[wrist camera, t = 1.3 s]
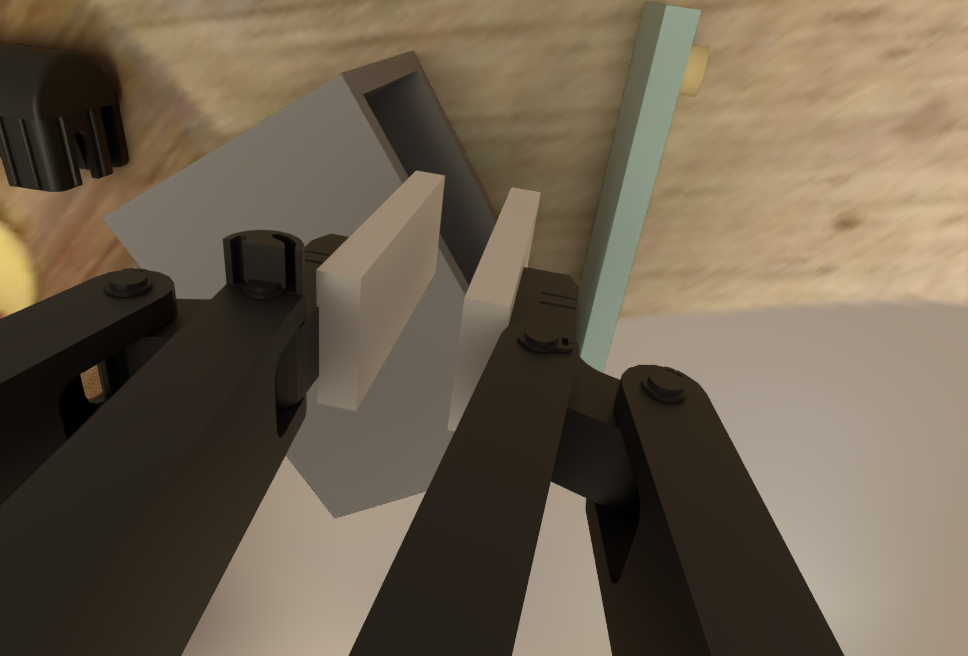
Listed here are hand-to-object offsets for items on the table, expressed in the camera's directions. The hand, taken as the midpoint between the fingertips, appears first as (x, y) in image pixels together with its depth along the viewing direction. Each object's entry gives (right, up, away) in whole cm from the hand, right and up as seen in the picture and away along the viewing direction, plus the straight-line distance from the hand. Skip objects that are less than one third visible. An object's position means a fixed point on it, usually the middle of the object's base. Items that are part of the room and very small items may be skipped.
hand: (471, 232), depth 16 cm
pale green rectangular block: (+8, +5, +19) cm, 21 cm away
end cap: (-26, +12, +22) cm, 36 cm away
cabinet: (-5, +2, +23) cm, 24 cm away
